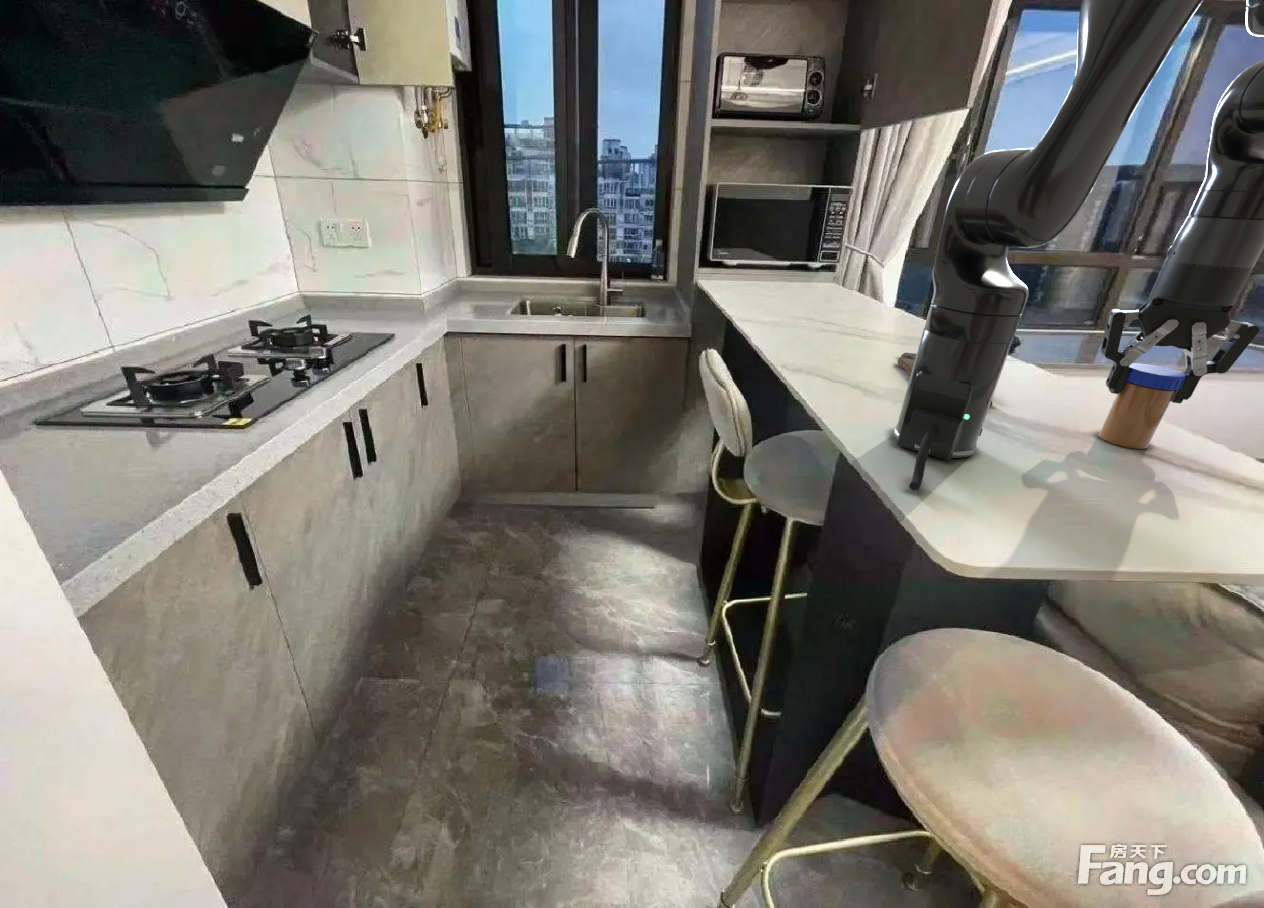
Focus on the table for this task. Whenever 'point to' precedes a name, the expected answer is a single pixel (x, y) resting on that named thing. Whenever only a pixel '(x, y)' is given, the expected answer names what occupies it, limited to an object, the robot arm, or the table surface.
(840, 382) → the table surface
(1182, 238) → the robot arm
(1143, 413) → the jar
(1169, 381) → the lid
